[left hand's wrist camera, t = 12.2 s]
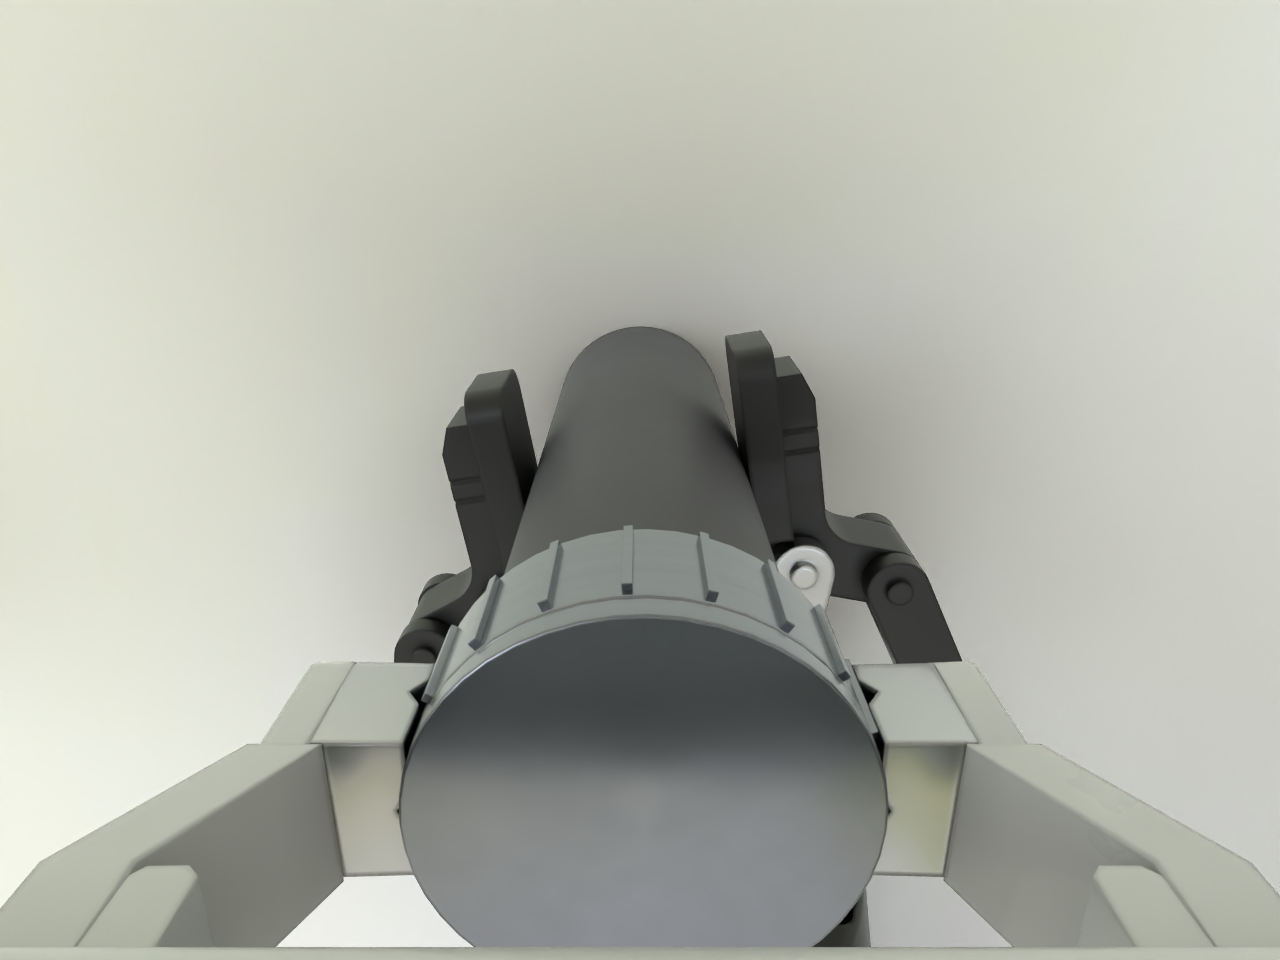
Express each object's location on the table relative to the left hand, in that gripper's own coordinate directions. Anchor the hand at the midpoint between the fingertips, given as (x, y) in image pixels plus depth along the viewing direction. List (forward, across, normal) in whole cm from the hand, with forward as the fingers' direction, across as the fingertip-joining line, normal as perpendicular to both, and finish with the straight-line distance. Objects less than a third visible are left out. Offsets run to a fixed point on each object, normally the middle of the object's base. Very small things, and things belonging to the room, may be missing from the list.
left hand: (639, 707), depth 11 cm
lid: (-2, 0, 0) cm, 2 cm away
